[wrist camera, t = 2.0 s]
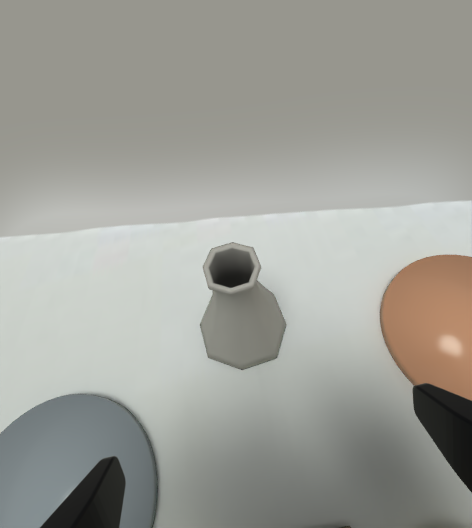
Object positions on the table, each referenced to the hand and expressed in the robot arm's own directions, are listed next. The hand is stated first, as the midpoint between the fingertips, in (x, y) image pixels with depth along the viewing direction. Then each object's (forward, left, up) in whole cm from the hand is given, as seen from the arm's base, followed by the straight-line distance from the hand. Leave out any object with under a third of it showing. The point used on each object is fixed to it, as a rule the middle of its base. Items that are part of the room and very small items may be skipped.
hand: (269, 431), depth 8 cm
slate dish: (+7, +13, -13) cm, 20 cm away
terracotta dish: (-6, -16, -13) cm, 22 cm away
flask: (+7, -4, -14) cm, 16 cm away
